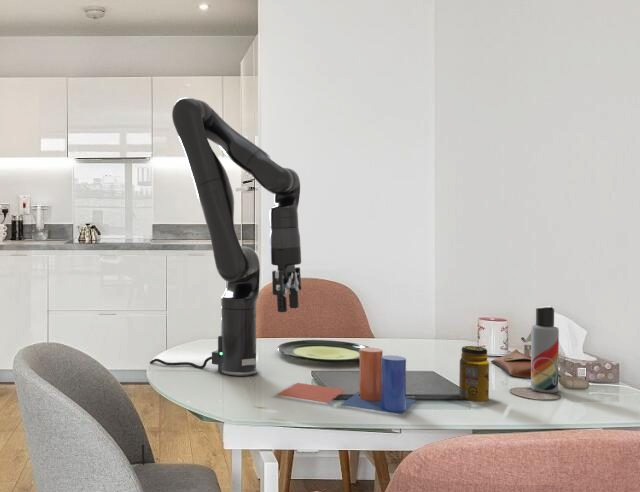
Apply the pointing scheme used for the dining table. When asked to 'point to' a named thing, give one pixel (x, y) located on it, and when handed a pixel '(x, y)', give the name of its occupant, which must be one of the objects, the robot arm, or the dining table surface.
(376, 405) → the blue mat
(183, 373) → the dining table surface
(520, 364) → the sunglasses case
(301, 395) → the terracotta mat
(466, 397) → the condiment
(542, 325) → the lotion bottle
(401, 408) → the blue canister
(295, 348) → the plate
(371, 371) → the terracotta canister
